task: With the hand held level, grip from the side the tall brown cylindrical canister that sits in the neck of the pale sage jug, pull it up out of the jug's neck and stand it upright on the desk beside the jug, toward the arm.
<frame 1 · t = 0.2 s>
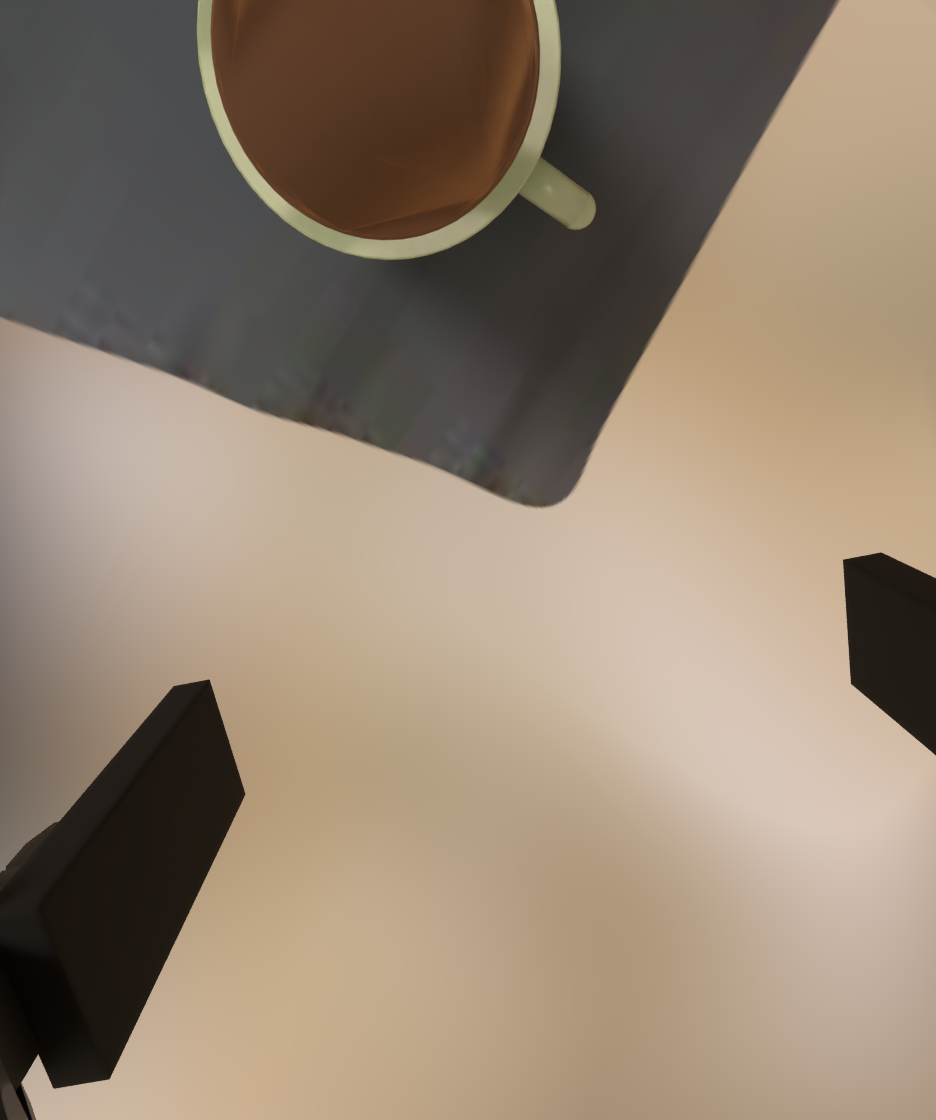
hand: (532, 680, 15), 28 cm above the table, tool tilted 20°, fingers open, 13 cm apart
brown cylindrical canister: (383, 70, 23), point 12 cm above the table, touching jug
jug: (385, 71, 33), on the table
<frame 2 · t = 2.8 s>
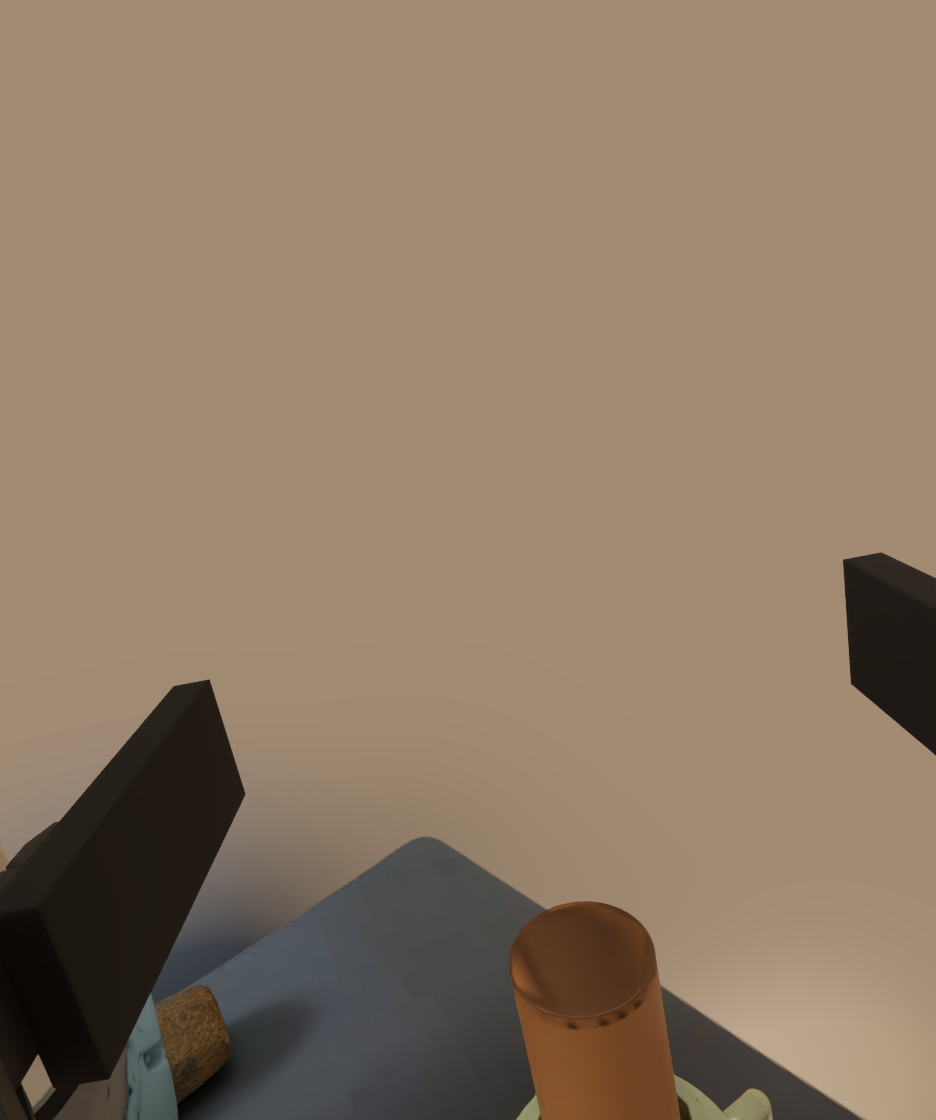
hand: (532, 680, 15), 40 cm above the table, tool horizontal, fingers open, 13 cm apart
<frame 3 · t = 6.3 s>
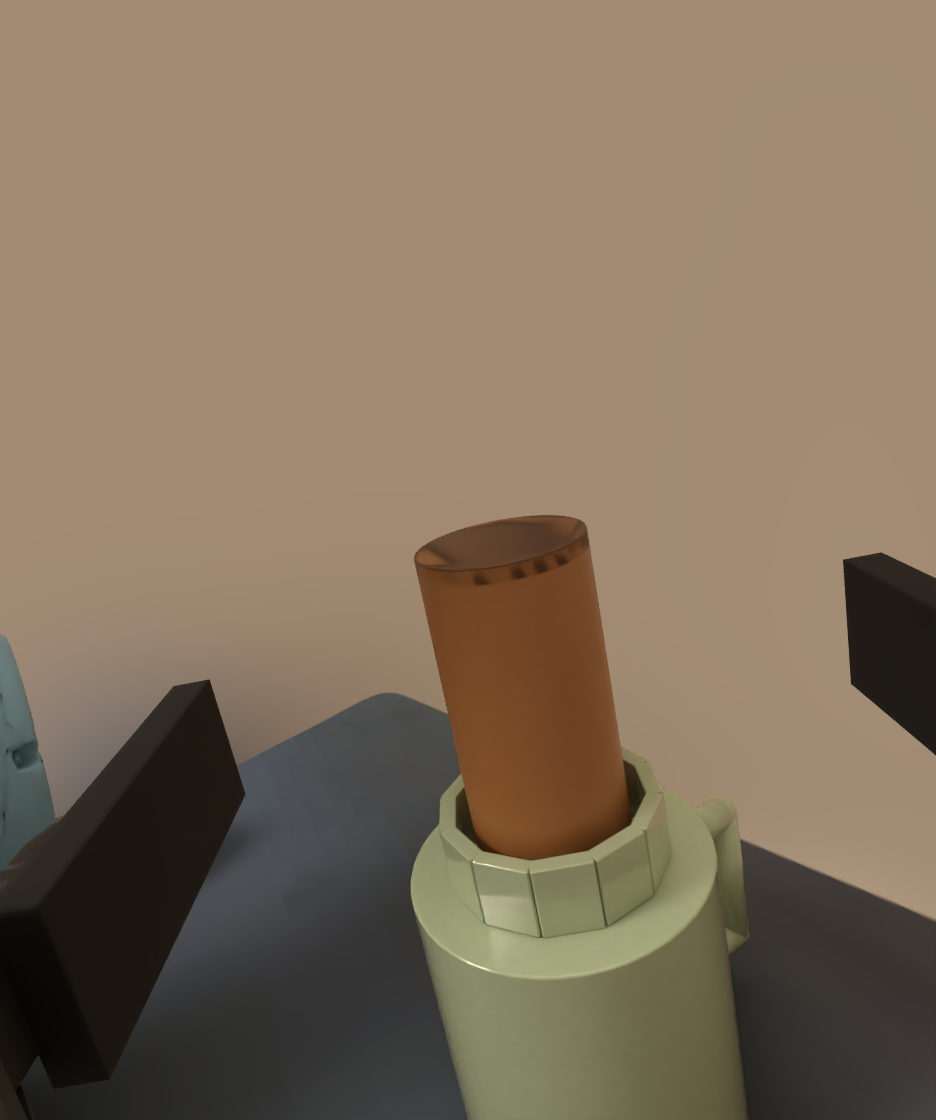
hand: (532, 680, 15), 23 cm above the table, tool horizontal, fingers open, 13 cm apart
brown cylindrical canister: (558, 853, 27), point 12 cm above the table, touching jug
jug: (604, 1101, 31), on the table
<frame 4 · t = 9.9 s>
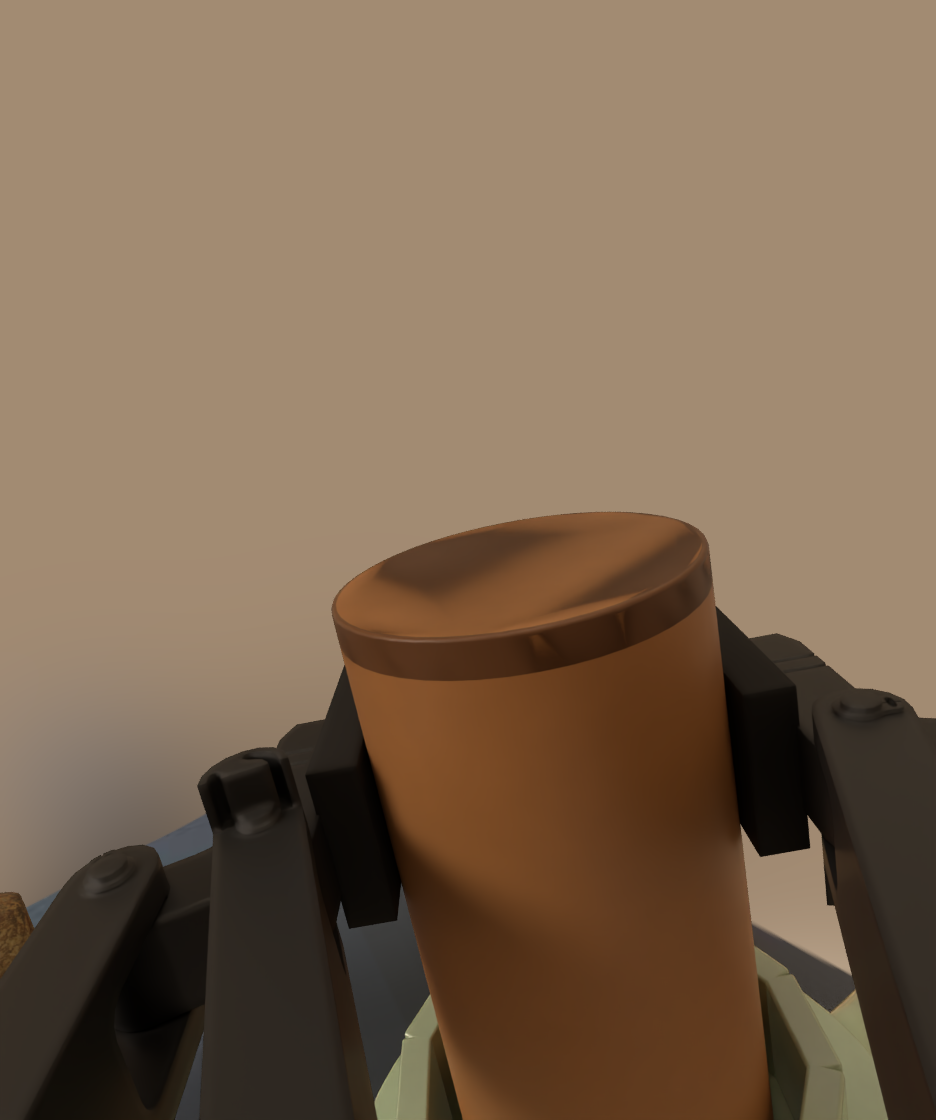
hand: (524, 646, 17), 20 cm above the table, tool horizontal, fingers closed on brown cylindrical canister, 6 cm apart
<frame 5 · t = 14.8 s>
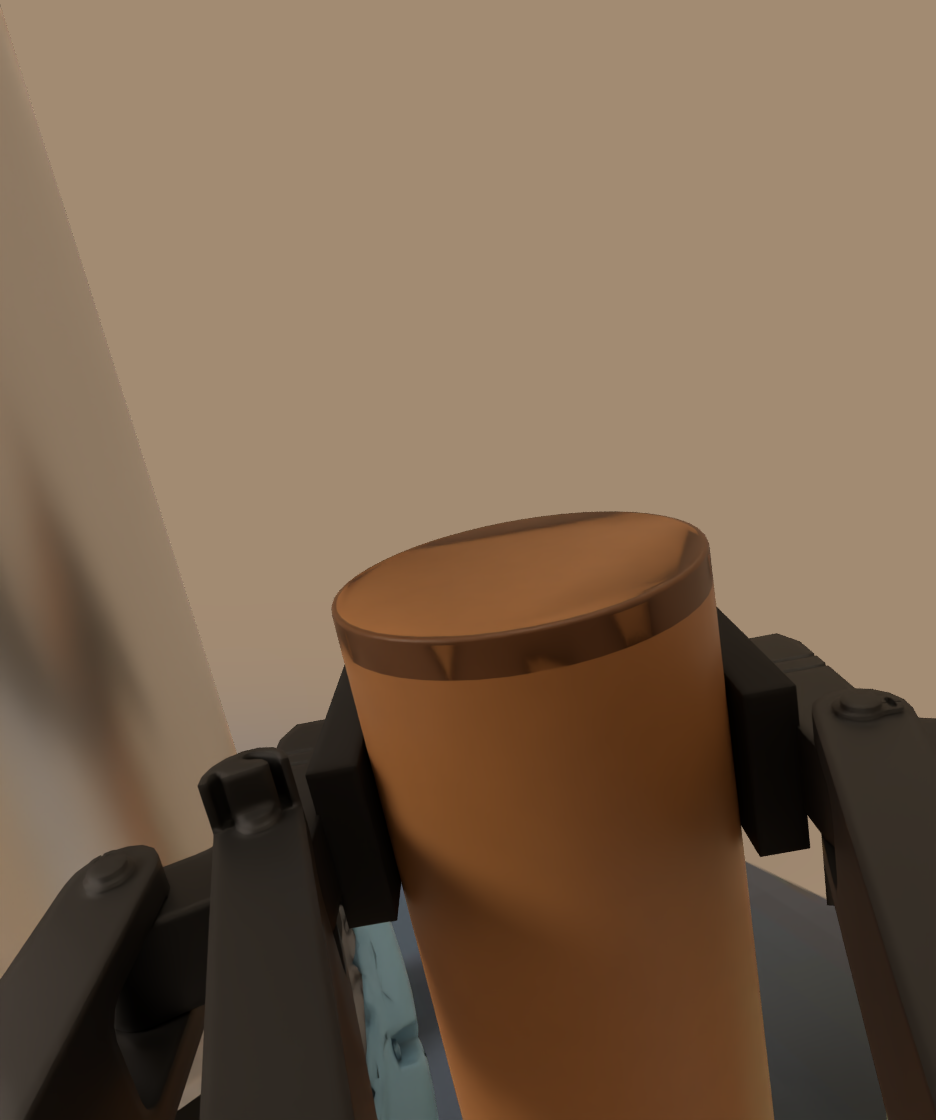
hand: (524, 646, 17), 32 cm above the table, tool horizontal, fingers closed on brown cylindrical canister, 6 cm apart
when the fingers open (8 cm above the table, at t = 20.1 s): brown cylindrical canister stays where it is, on the table.
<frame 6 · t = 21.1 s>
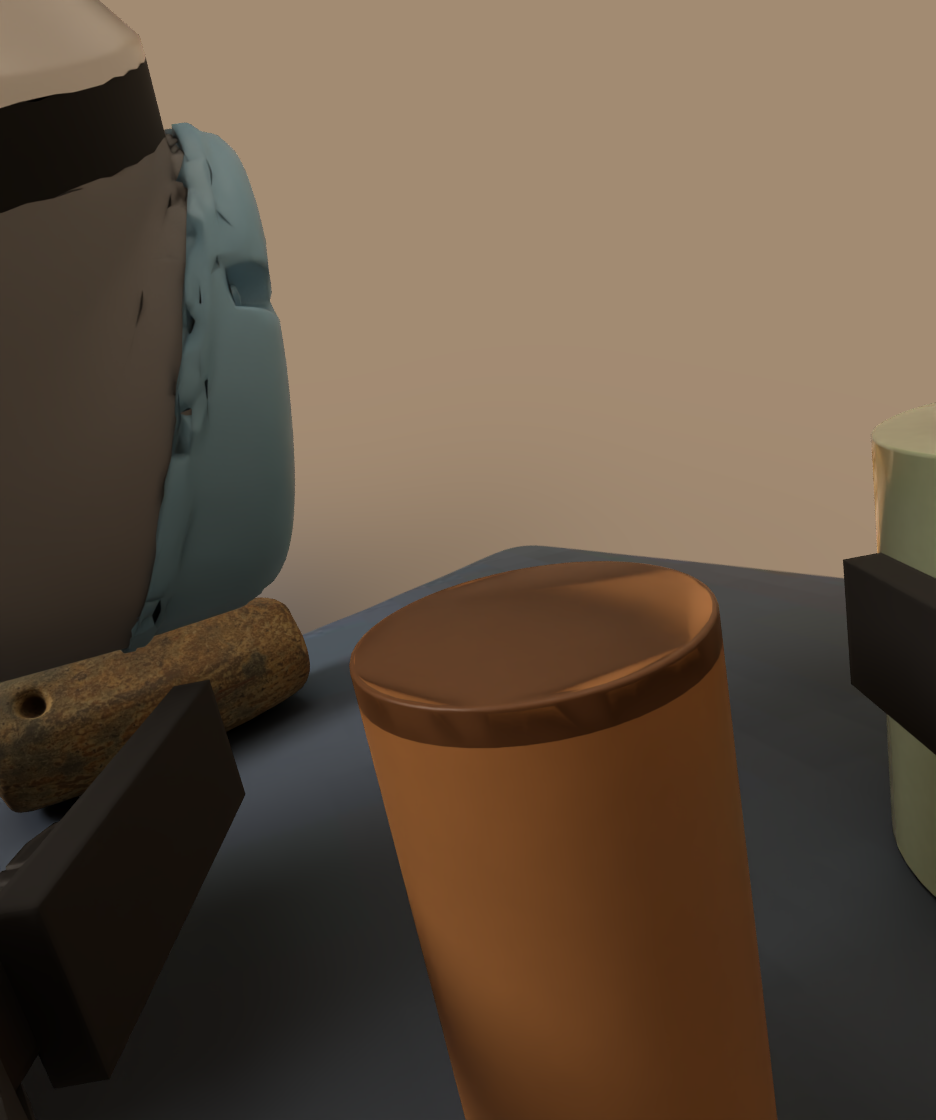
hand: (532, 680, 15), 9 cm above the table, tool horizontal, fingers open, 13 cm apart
brown wooden cylinder: (175, 753, 38), on the table
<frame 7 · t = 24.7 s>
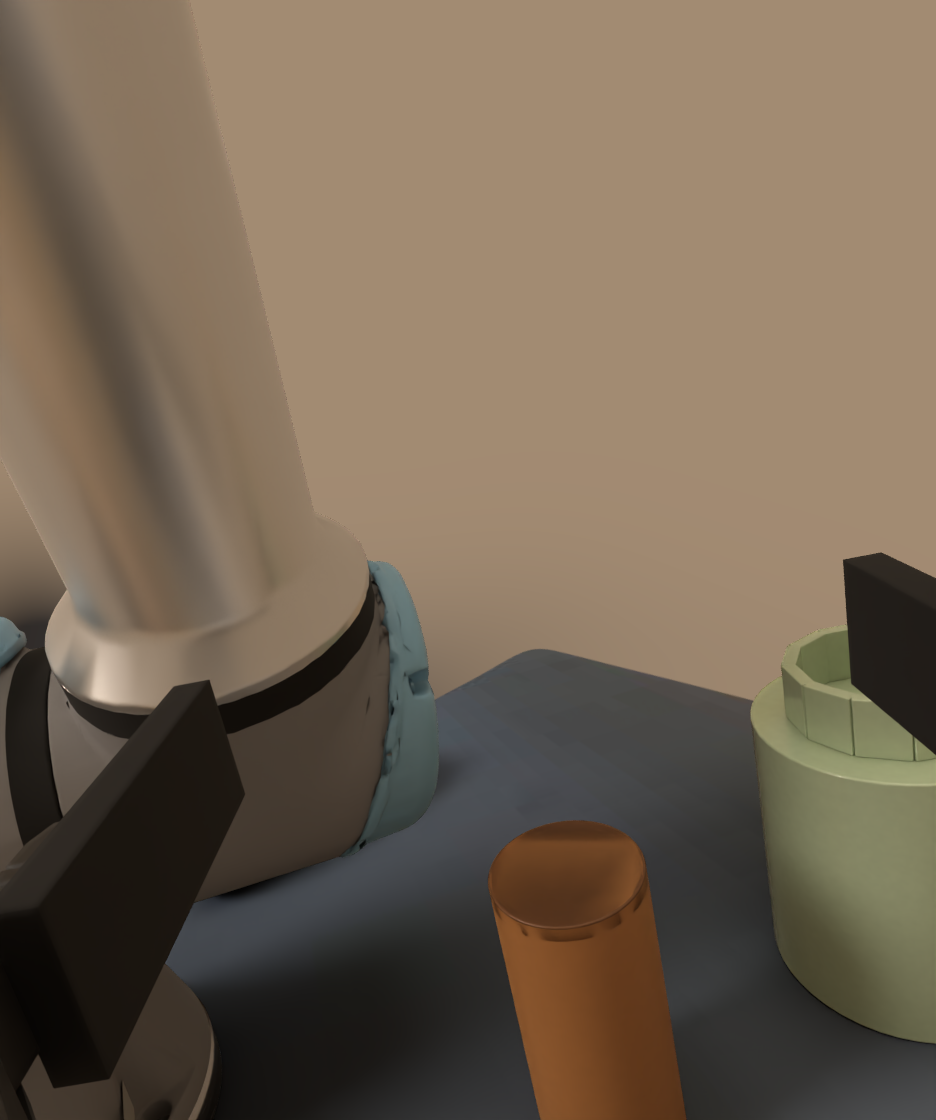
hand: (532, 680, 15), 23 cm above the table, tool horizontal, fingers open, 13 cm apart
jug: (900, 940, 35), on the table
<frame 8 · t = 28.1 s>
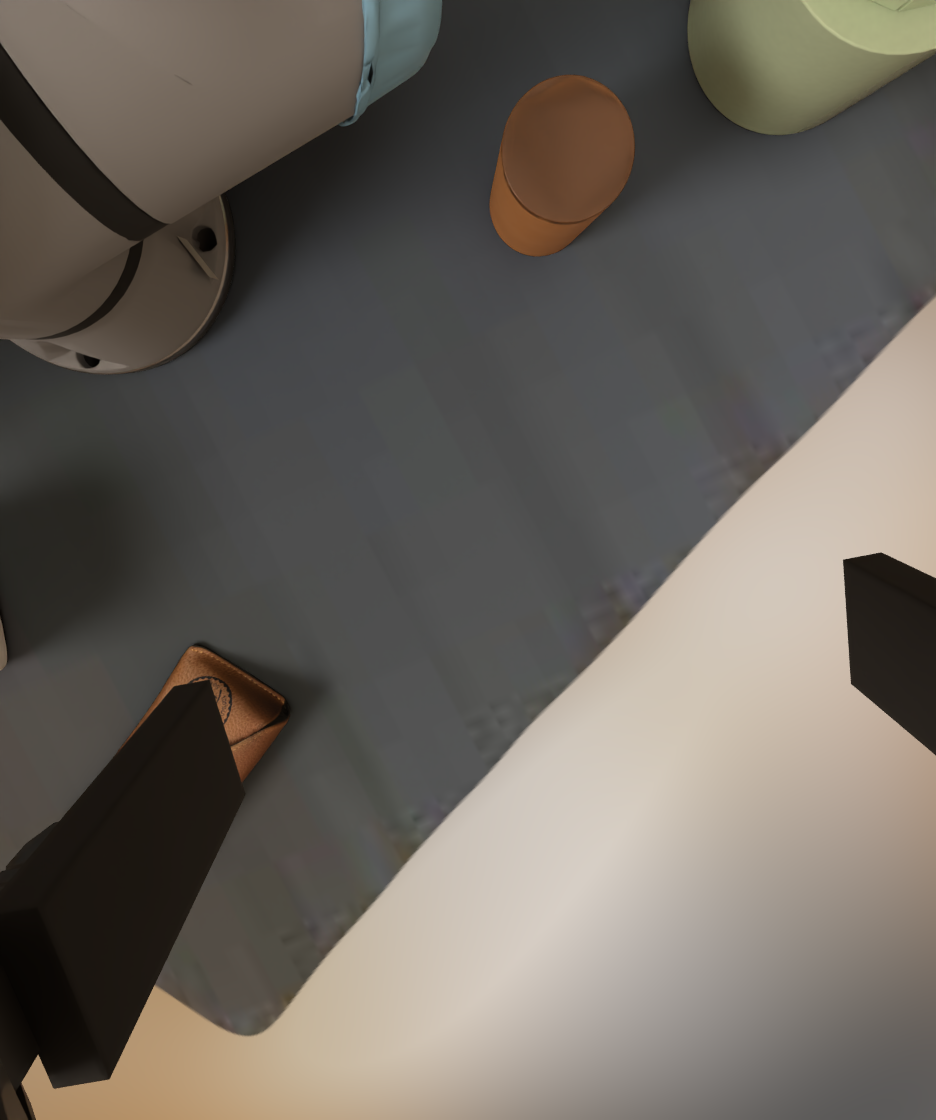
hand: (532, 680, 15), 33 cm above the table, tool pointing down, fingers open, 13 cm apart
sunglasses case: (176, 764, 53), on the table
brown cylindrical canister: (538, 204, 43), on the table
jug: (788, 22, 41), on the table
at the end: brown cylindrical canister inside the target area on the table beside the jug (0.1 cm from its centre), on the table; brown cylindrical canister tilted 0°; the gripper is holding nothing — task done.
